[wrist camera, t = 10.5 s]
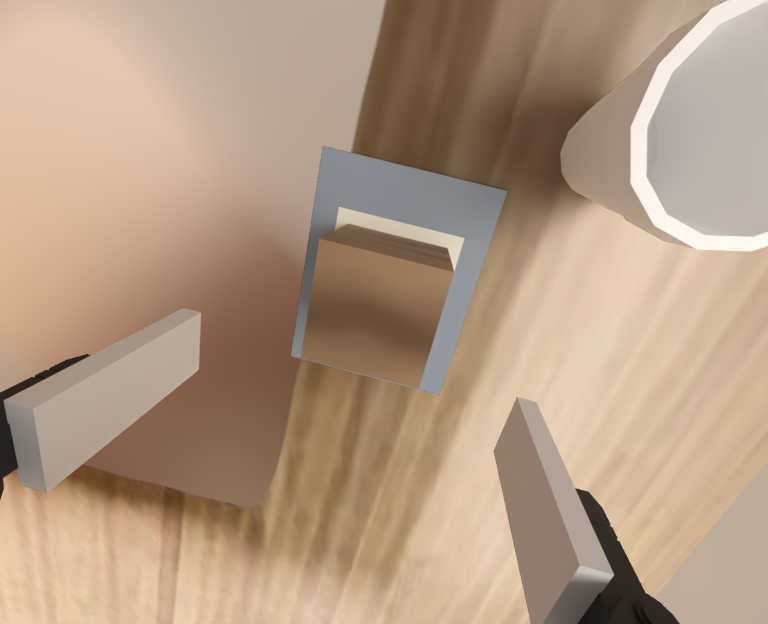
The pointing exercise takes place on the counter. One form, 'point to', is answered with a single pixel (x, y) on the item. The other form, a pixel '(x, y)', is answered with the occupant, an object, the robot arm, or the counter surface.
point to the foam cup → (685, 136)
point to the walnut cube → (376, 303)
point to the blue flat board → (406, 232)
